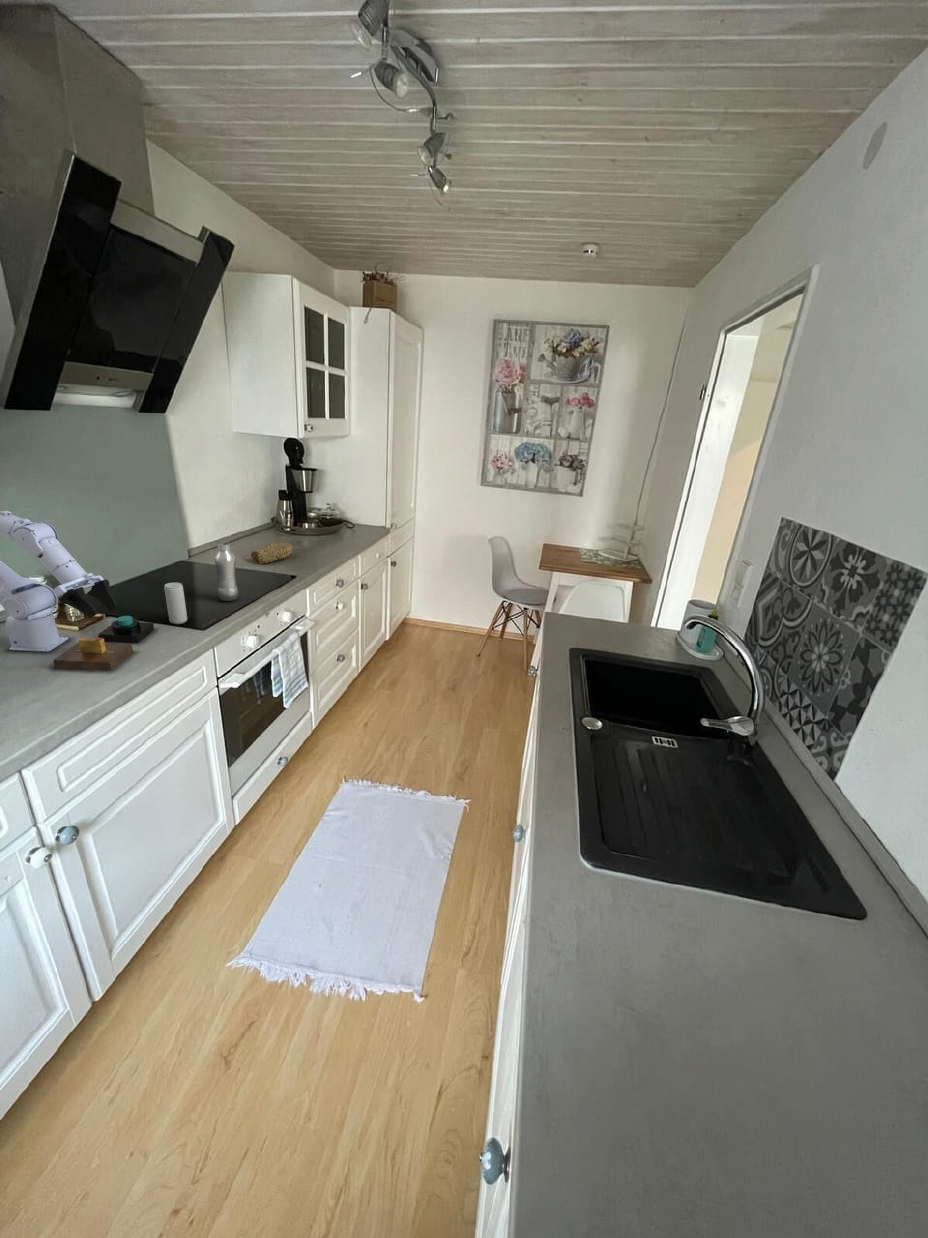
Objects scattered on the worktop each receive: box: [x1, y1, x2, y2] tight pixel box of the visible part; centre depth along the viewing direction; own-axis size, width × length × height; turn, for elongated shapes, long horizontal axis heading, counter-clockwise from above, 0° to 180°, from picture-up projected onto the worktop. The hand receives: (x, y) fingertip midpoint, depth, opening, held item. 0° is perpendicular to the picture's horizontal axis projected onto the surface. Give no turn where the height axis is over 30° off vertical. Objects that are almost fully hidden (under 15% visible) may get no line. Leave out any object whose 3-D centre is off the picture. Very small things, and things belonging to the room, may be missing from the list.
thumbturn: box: [78, 637, 106, 654], centre depth 123 cm, size 5×2×4 cm, turn 95°
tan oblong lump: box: [250, 542, 294, 565], centre depth 213 cm, size 13×8×20 cm
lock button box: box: [97, 617, 155, 644], centre depth 138 cm, size 10×9×4 cm
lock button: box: [116, 615, 133, 626], centre depth 137 cm, size 4×4×2 cm
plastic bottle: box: [214, 541, 240, 602], centre depth 165 cm, size 6×7×20 cm
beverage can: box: [164, 582, 188, 625], centre depth 147 cm, size 5×5×12 cm
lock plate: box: [52, 641, 134, 672], centre depth 124 cm, size 13×10×3 cm
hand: (104, 612), depth 122 cm, fingers open, 7 cm apart
